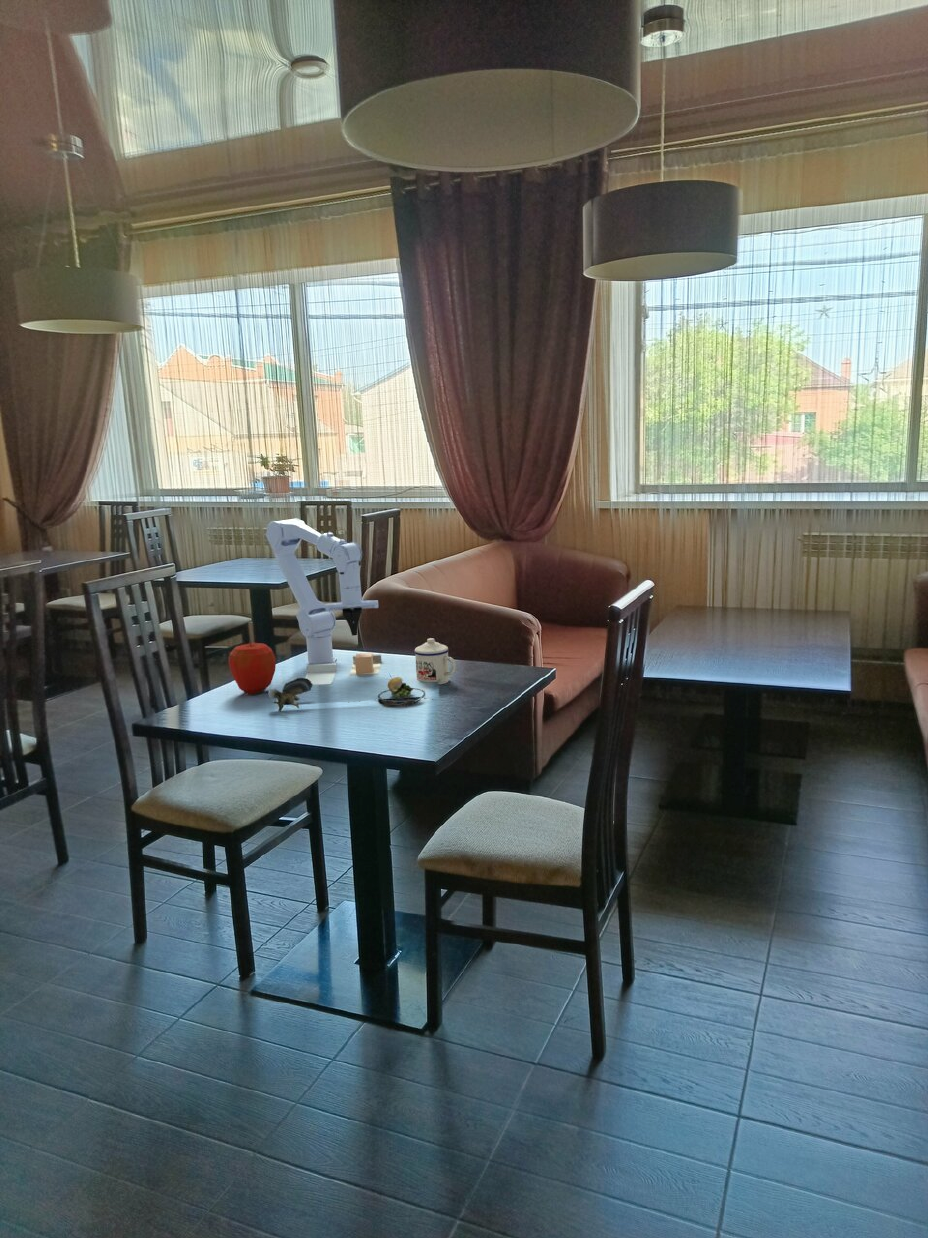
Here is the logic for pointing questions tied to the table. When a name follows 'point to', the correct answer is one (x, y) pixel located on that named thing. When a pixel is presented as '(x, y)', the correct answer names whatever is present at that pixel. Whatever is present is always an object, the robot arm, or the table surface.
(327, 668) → the grey strip
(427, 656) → the teacup with lid
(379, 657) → the beige lipped tray
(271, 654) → the apple
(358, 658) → the block
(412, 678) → the table surface
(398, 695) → the burger
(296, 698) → the grey-brown animal figure
